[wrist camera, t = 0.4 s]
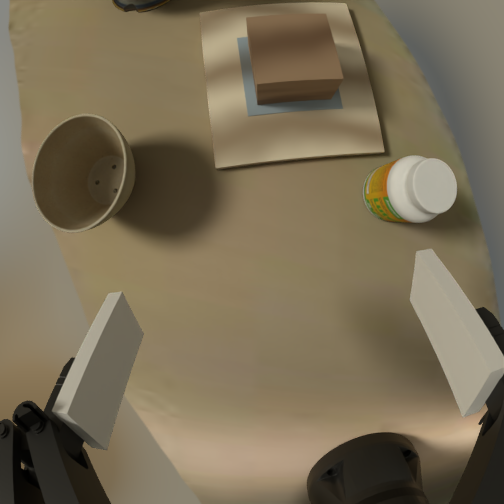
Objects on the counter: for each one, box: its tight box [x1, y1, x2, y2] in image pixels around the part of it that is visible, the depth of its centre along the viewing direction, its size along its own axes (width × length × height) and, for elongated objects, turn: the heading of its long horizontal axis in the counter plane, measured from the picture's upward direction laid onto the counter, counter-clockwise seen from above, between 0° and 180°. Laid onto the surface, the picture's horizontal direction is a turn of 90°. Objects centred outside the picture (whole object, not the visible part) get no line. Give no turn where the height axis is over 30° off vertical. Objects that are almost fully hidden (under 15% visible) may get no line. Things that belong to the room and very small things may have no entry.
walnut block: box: [246, 14, 344, 105], centre depth 24 cm, size 7×7×5 cm
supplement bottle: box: [363, 155, 457, 223], centre depth 24 cm, size 5×5×10 cm
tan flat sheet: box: [200, 2, 385, 170], centre depth 27 cm, size 18×16×1 cm
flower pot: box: [32, 114, 135, 233], centre depth 26 cm, size 10×10×7 cm
